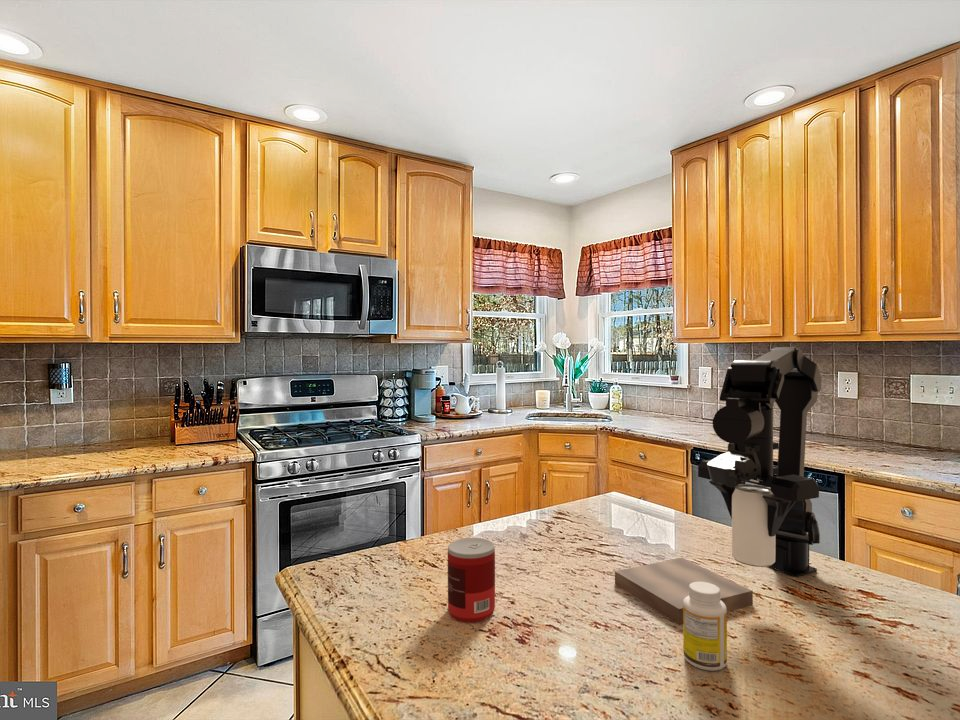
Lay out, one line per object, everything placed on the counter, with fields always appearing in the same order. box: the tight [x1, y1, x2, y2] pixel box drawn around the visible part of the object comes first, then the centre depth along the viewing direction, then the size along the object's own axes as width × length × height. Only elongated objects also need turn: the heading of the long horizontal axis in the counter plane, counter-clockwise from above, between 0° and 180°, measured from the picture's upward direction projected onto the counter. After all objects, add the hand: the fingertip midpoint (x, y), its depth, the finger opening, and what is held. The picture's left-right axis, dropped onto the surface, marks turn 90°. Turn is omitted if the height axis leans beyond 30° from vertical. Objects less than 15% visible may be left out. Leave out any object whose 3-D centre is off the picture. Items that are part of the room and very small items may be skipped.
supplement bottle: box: [682, 582, 728, 672], centre depth 74 cm, size 6×6×10 cm
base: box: [614, 557, 754, 626], centre depth 95 cm, size 16×16×2 cm
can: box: [731, 483, 776, 568], centre depth 89 cm, size 6×6×12 cm
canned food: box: [447, 537, 496, 624], centre depth 89 cm, size 8×8×11 cm
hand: (753, 529), depth 89 cm, fingers closed on can, 6 cm apart
